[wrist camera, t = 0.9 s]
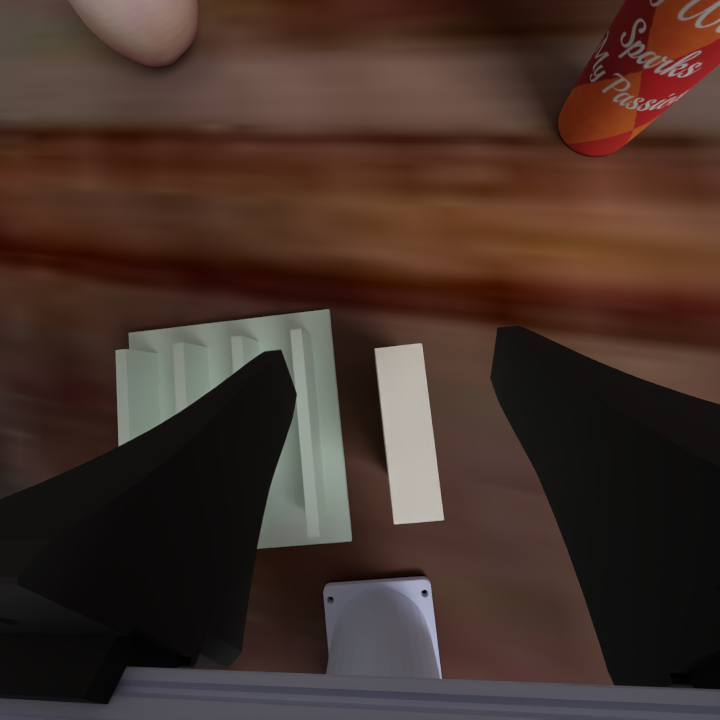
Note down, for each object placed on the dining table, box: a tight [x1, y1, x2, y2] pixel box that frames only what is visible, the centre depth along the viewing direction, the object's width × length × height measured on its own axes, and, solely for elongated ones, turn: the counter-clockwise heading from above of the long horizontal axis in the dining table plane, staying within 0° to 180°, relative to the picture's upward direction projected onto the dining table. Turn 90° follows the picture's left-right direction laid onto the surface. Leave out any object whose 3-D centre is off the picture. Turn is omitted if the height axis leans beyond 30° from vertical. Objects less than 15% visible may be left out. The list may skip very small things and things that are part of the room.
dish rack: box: [116, 309, 352, 549], centre depth 21 cm, size 18×17×4 cm
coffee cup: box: [558, 0, 720, 157], centre depth 16 cm, size 8×8×15 cm
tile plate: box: [375, 343, 444, 524], centre depth 19 cm, size 9×2×8 cm, turn 6°
